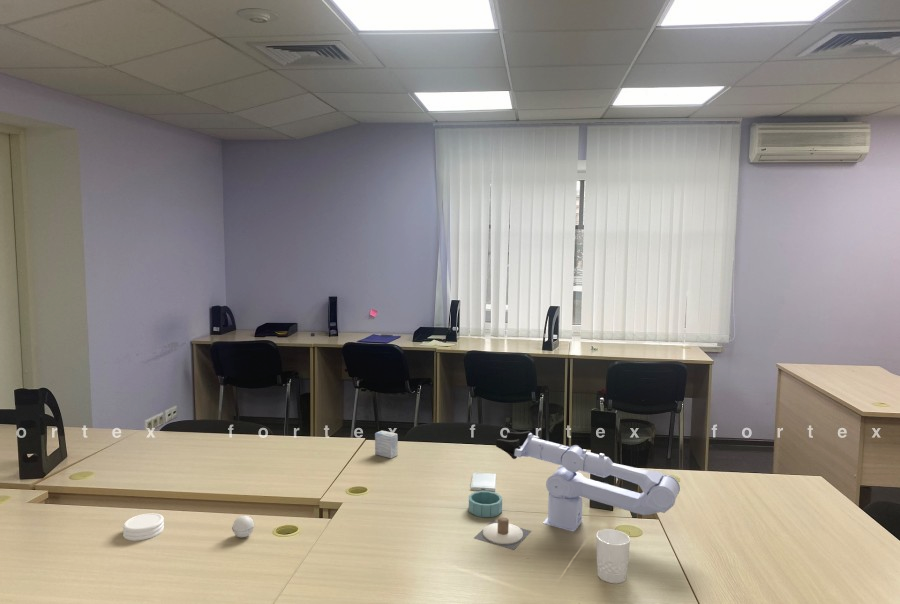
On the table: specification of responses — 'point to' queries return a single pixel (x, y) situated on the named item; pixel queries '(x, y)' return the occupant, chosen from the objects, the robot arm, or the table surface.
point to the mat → (510, 546)
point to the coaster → (143, 526)
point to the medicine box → (386, 444)
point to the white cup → (612, 555)
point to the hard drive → (483, 482)
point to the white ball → (243, 526)
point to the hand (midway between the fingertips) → (502, 439)
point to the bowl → (485, 504)
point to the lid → (502, 532)
